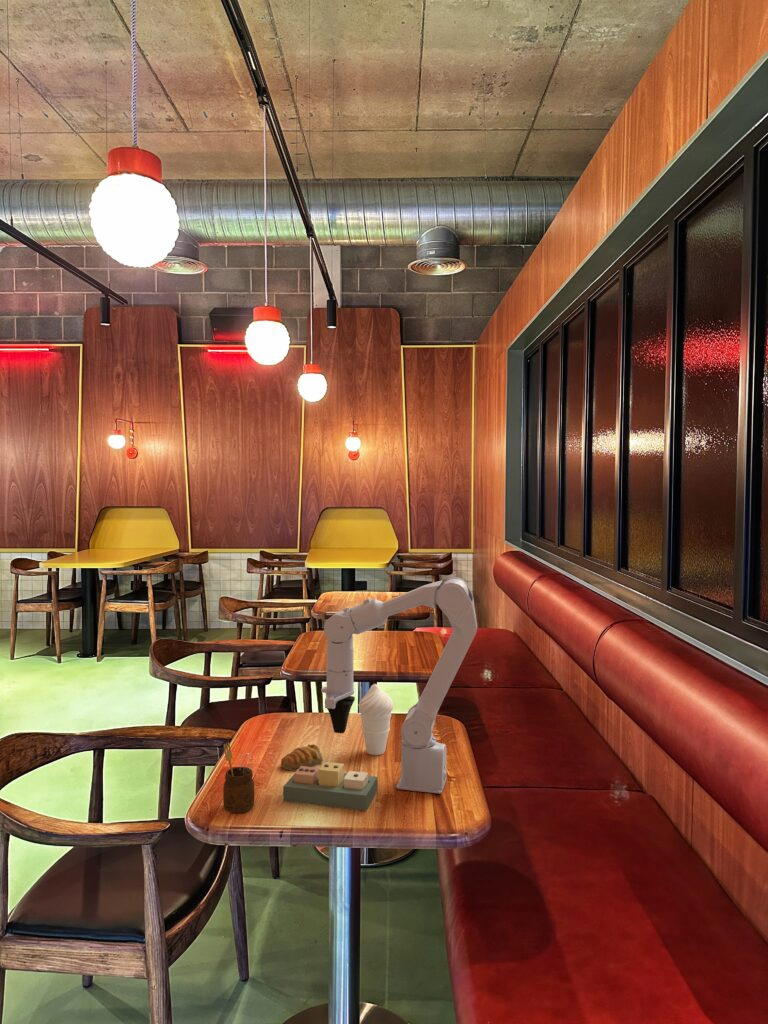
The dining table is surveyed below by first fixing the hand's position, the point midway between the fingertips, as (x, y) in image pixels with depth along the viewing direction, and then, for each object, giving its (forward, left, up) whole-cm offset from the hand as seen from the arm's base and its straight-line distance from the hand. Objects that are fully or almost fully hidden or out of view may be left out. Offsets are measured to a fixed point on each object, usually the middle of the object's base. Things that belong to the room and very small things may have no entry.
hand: (339, 731), depth 147 cm
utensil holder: (+15, +18, -10) cm, 26 cm away
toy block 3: (-6, +9, -10) cm, 15 cm away
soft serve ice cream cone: (-4, -16, -10) cm, 19 cm away
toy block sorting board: (-1, +9, -10) cm, 13 cm away
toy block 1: (+4, +9, -10) cm, 14 cm away
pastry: (+10, -5, -10) cm, 15 cm away
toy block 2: (-1, +9, -8) cm, 12 cm away
